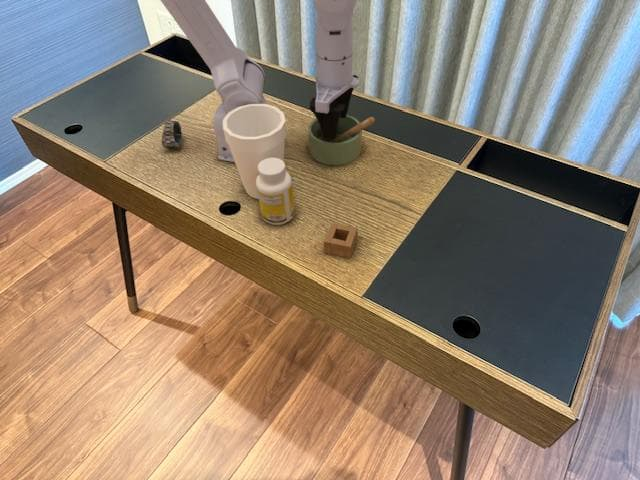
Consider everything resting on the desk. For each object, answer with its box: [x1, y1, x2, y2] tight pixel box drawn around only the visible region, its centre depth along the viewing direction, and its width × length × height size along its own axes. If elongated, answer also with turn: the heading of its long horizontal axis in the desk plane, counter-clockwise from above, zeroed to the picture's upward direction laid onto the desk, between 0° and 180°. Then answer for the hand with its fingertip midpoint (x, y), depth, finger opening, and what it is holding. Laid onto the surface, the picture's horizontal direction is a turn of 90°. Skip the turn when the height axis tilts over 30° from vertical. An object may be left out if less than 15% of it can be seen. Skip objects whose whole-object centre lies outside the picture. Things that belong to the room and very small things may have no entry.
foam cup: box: [223, 104, 287, 200], centre depth 77 cm, size 10×9×13 cm
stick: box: [330, 116, 376, 143], centre depth 85 cm, size 1×1×10 cm
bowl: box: [307, 114, 363, 166], centre depth 87 cm, size 9×9×4 cm
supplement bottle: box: [256, 158, 296, 226], centre depth 74 cm, size 5×5×10 cm
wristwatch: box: [161, 120, 183, 150], centre depth 90 cm, size 3×5×5 cm
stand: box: [323, 222, 359, 259], centre depth 72 cm, size 4×4×2 cm
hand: (335, 126), depth 85 cm, fingers open, 6 cm apart
